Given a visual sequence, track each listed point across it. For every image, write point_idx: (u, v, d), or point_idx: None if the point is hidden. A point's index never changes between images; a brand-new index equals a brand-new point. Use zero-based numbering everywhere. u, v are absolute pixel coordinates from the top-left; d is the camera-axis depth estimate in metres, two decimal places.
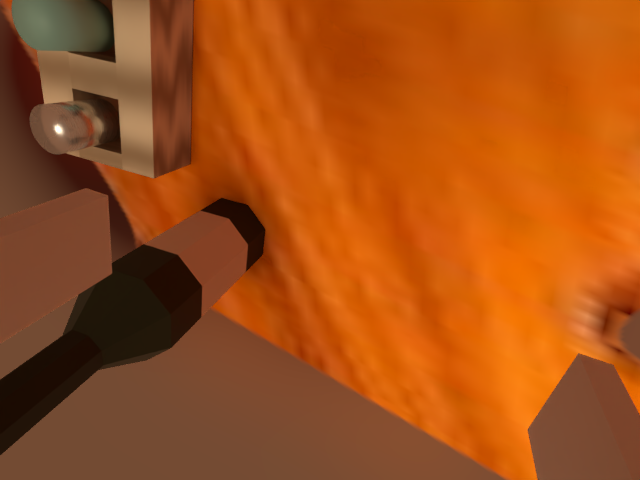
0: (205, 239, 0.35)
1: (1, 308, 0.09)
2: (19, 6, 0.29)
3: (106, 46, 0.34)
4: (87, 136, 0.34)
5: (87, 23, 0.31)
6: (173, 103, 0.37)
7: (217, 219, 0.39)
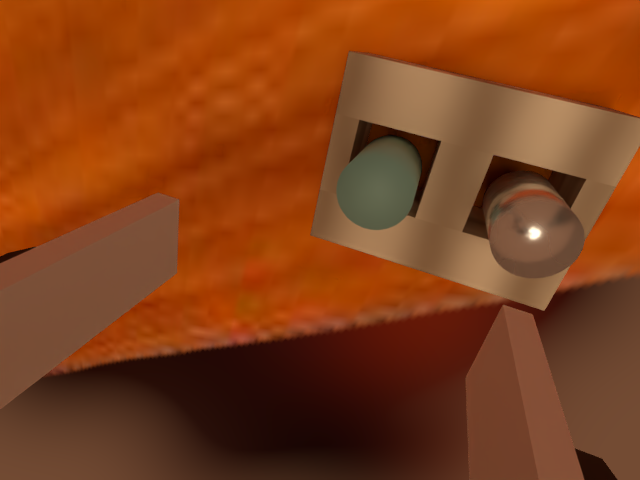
0: None
1: (96, 305, 0.10)
2: (355, 210, 0.21)
3: (416, 152, 0.24)
4: (554, 194, 0.19)
5: (386, 144, 0.22)
6: (511, 87, 0.24)
7: None
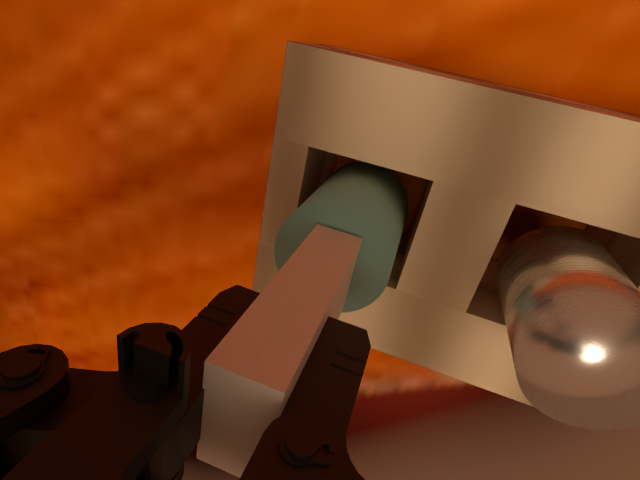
0: None
1: None
2: None
3: (399, 187, 0.17)
4: (628, 286, 0.11)
5: (353, 180, 0.15)
6: (541, 96, 0.15)
7: None
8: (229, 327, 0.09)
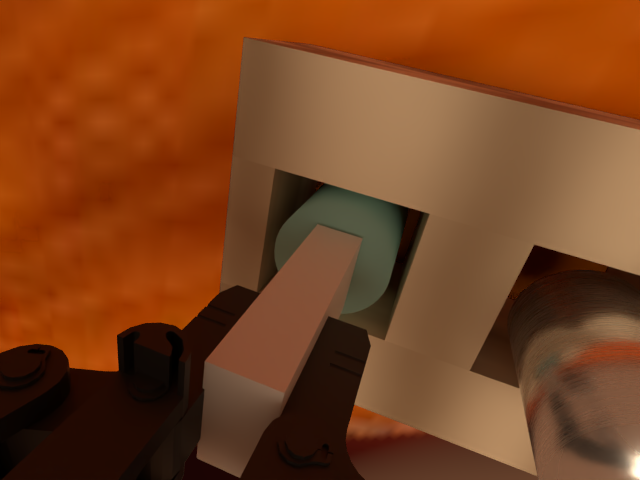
0: None
1: None
2: None
3: None
4: None
5: None
6: (564, 106, 0.12)
7: None
8: (229, 327, 0.09)
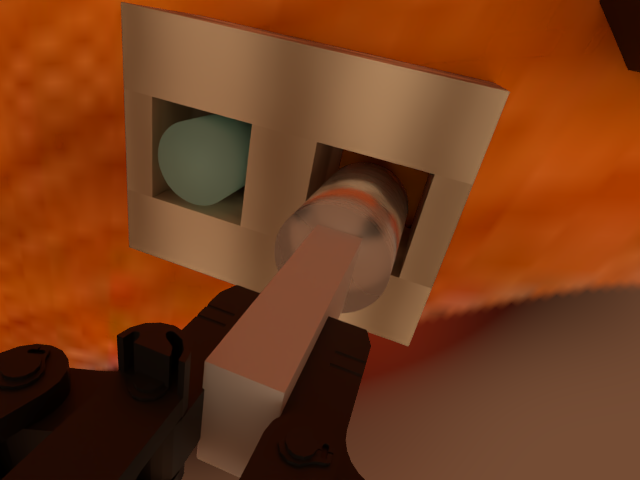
0: None
1: None
2: (181, 184, 0.19)
3: None
4: (366, 194, 0.14)
5: None
6: (350, 52, 0.18)
7: None
8: (229, 327, 0.09)
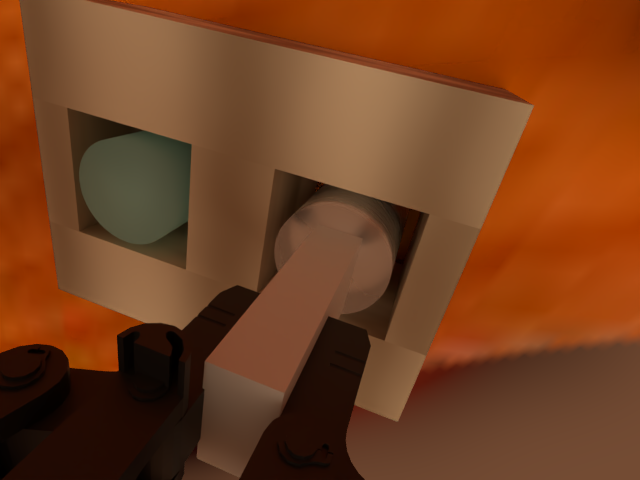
0: None
1: None
2: (110, 218, 0.15)
3: None
4: None
5: None
6: (322, 50, 0.14)
7: None
8: (229, 327, 0.09)
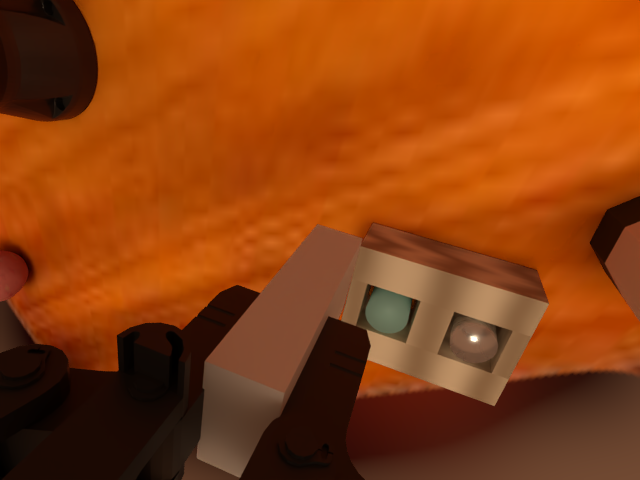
0: None
1: None
2: (376, 322, 0.38)
3: None
4: None
5: None
6: (466, 262, 0.36)
7: (624, 240, 0.29)
8: (229, 327, 0.09)
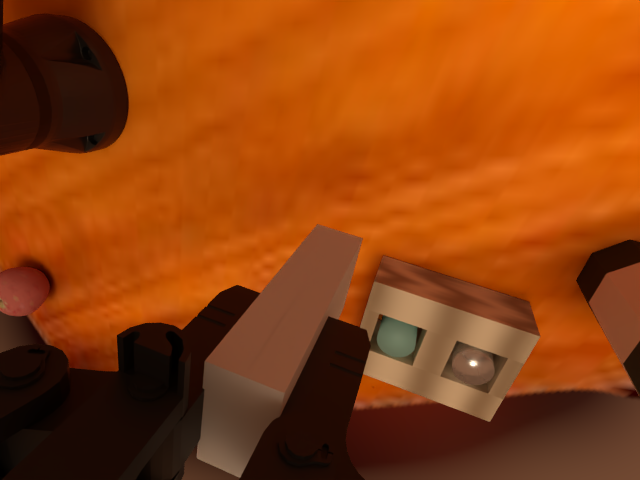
0: (630, 299, 0.30)
1: None
2: (386, 347, 0.42)
3: None
4: None
5: None
6: (468, 296, 0.41)
7: (605, 285, 0.34)
8: (229, 327, 0.09)
